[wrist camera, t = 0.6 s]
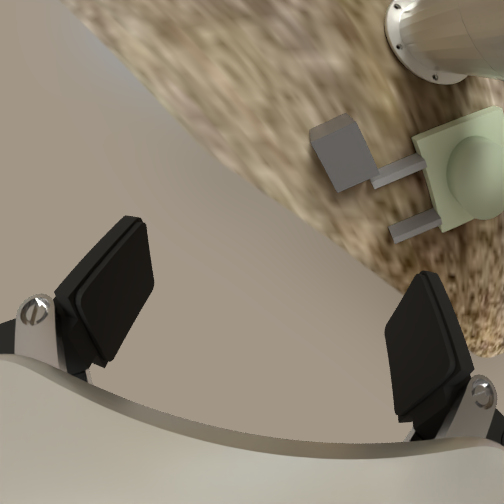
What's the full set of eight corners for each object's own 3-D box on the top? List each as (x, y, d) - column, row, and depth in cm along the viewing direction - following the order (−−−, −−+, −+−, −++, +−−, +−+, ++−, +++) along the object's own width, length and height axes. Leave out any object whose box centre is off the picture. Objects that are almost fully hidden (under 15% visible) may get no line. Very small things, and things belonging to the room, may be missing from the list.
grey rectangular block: (345, 112, 29) (355, 121, 23) (366, 155, 31) (379, 174, 26) (309, 129, 31) (310, 142, 25) (332, 171, 33) (337, 193, 28)
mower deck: (493, 105, 22) (519, 114, 17) (510, 192, 28) (530, 211, 23) (360, 158, 32) (369, 175, 27) (394, 243, 38) (403, 269, 33)
